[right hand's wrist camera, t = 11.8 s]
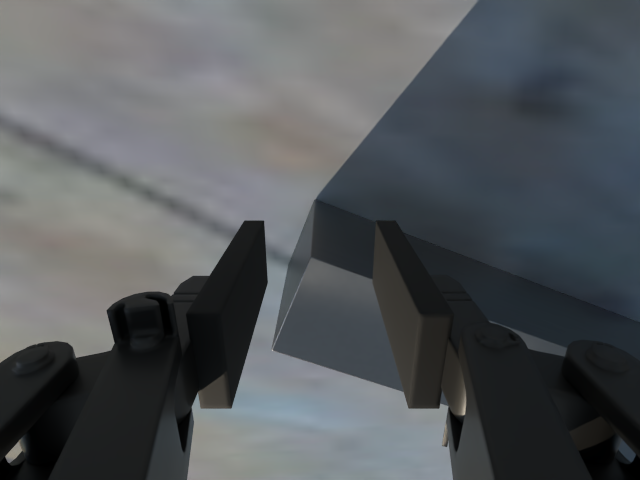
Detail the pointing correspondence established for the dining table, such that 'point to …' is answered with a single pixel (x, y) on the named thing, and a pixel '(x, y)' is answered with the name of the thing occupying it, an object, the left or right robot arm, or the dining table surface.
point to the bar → (476, 278)
